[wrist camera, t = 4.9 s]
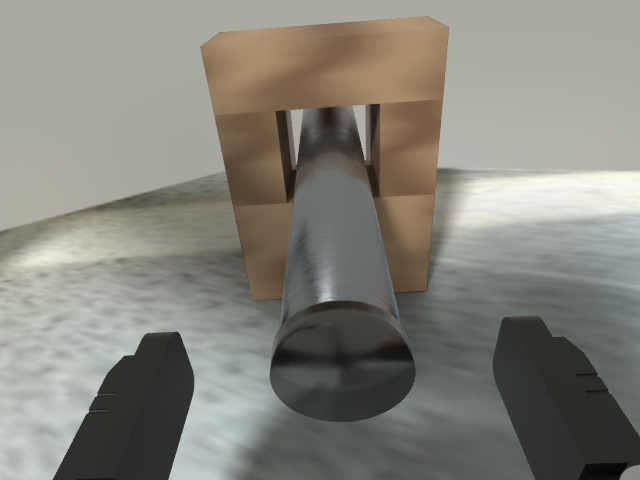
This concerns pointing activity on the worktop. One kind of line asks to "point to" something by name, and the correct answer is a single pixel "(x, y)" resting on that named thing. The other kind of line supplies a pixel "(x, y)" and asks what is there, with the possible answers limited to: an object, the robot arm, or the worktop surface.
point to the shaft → (337, 286)
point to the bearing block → (330, 91)
